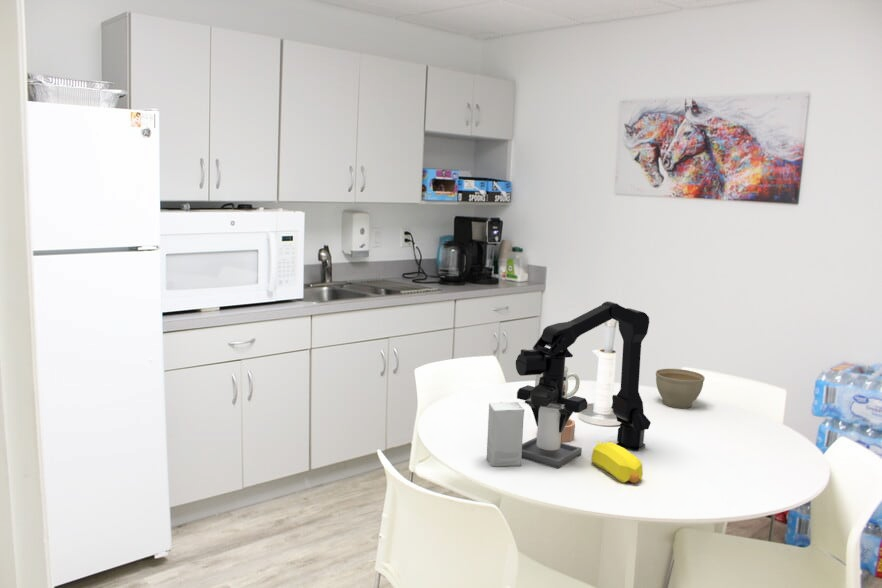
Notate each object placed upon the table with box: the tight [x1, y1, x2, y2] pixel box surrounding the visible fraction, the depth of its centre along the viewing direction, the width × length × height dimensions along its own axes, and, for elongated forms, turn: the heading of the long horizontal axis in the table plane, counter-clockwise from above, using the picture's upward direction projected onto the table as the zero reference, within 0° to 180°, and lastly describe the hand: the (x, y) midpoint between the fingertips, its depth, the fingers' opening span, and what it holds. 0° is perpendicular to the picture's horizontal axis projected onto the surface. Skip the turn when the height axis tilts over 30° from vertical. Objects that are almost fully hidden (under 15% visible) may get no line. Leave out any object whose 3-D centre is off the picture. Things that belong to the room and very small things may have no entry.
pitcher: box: [534, 365, 581, 398], centre depth 249 cm, size 11×18×14 cm, turn 103°
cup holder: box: [561, 417, 576, 443], centre depth 218 cm, size 11×11×4 cm
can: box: [536, 402, 563, 451], centre depth 201 cm, size 6×6×12 cm
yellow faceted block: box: [590, 441, 644, 484], centre depth 192 cm, size 18×7×8 cm
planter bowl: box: [655, 368, 705, 409], centre depth 257 cm, size 16×16×11 cm
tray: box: [521, 436, 582, 469], centre depth 202 cm, size 14×14×2 cm
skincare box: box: [486, 401, 525, 467], centre depth 194 cm, size 8×7×16 cm
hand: (549, 429), depth 201 cm, fingers closed on can, 6 cm apart
